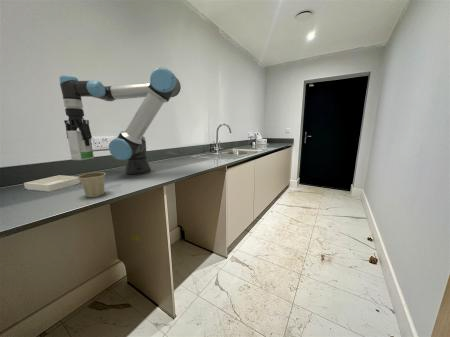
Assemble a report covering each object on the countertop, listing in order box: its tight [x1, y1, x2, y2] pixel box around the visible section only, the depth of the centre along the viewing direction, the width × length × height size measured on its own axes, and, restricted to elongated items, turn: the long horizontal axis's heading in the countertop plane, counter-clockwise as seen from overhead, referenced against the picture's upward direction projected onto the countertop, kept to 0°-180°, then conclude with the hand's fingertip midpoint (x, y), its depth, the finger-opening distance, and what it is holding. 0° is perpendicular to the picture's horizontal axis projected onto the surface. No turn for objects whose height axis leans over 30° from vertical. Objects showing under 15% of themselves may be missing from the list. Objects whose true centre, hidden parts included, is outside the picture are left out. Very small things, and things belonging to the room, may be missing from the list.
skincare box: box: [66, 130, 95, 161], centre depth 99 cm, size 8×7×16 cm
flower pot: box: [76, 171, 107, 198], centre depth 74 cm, size 9×9×9 cm
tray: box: [23, 174, 82, 193], centre depth 87 cm, size 15×15×3 cm
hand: (82, 151), depth 100 cm, fingers closed on skincare box, 6 cm apart
